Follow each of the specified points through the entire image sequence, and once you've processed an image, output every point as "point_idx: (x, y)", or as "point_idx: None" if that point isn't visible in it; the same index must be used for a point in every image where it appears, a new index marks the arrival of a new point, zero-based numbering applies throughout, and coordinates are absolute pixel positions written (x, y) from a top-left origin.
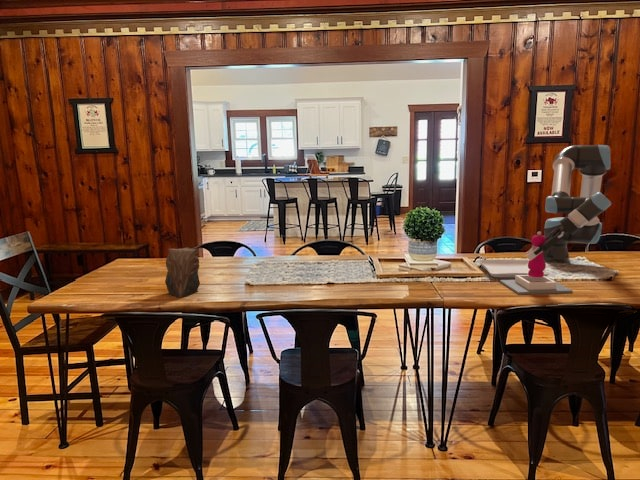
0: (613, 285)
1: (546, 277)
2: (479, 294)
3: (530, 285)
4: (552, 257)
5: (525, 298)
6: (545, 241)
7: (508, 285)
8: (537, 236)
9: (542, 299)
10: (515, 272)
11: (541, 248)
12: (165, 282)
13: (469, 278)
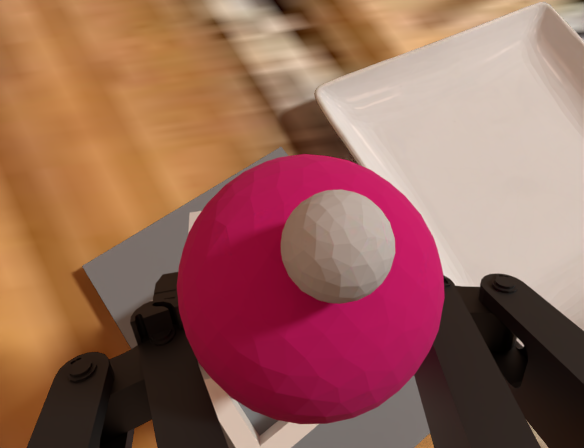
0: None
1: None
2: (12, 104)
3: None
4: None
5: (22, 316)
6: (208, 423)
7: (196, 199)
8: (227, 237)
9: (37, 410)
10: (499, 192)
11: (115, 366)
12: None
13: (273, 27)
